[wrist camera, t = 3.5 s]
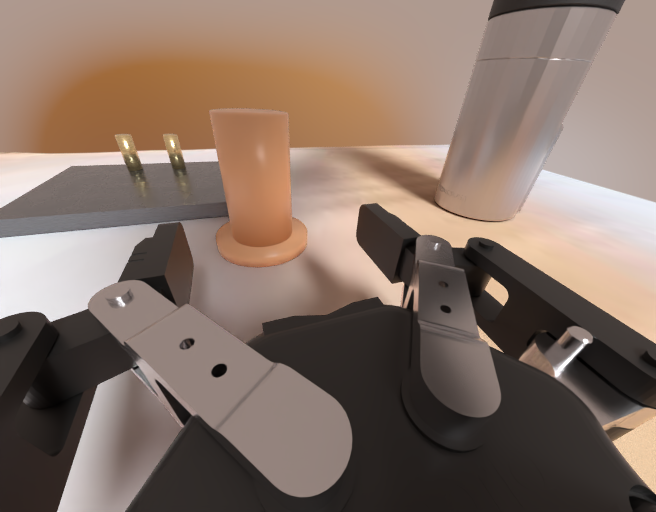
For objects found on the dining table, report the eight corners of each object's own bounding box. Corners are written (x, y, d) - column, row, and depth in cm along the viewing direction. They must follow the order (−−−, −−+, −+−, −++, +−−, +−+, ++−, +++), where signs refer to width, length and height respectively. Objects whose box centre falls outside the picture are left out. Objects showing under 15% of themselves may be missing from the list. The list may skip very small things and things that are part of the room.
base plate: (238, 170, 39) (232, 131, 36) (246, 213, 26) (238, 159, 23) (77, 178, 33) (53, 131, 30) (-8, 237, 20) (-65, 169, 17)
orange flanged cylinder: (296, 218, 26) (293, 108, 21) (317, 258, 20) (322, 120, 15) (218, 226, 24) (191, 105, 18) (218, 274, 18) (178, 117, 12)
